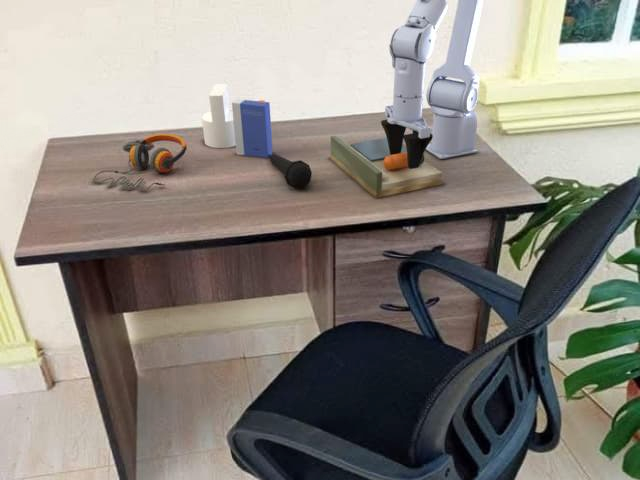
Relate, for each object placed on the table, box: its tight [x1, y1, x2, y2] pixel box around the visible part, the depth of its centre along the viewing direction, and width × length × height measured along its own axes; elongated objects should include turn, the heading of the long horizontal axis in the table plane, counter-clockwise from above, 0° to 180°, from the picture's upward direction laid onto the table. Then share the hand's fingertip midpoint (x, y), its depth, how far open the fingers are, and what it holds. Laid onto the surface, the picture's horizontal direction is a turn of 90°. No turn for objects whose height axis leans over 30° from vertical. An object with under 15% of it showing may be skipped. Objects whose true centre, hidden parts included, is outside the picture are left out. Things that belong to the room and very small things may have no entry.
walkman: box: [231, 98, 274, 159], centre depth 146 cm, size 8×3×12 cm, turn 71°
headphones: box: [93, 133, 188, 192], centre depth 140 cm, size 17×5×20 cm
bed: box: [330, 135, 444, 199], centre depth 139 cm, size 15×22×5 cm
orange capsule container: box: [383, 152, 425, 170], centre depth 135 cm, size 9×3×3 cm, turn 113°
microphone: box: [268, 153, 313, 190], centre depth 139 cm, size 6×6×20 cm
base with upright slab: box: [201, 83, 236, 149], centre depth 153 cm, size 9×9×12 cm
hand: (404, 160), depth 135 cm, fingers open, 7 cm apart
